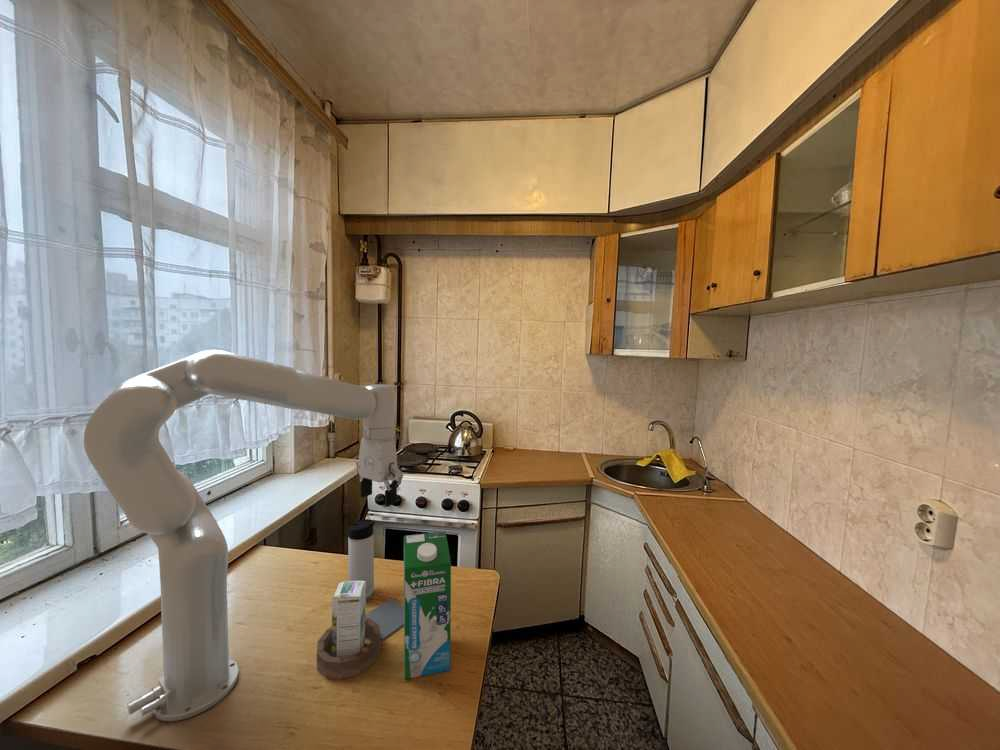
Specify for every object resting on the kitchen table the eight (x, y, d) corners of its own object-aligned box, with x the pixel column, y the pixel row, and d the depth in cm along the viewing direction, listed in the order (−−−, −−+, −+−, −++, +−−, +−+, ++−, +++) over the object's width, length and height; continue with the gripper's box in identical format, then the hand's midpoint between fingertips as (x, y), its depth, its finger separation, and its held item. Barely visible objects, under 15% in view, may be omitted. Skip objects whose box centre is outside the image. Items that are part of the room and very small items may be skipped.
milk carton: (404, 680, 73) (404, 556, 72) (403, 645, 82) (403, 535, 81) (450, 670, 76) (451, 550, 74) (445, 637, 84) (445, 530, 83)
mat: (382, 640, 83) (382, 639, 83) (356, 621, 89) (356, 620, 89) (416, 615, 91) (416, 614, 91) (390, 599, 97) (390, 598, 97)
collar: (338, 690, 71) (338, 671, 71) (305, 658, 78) (305, 641, 78) (392, 649, 81) (392, 632, 81) (358, 624, 88) (358, 609, 88)
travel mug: (370, 603, 96) (369, 527, 95) (344, 603, 96) (343, 527, 95) (378, 588, 102) (378, 517, 101) (354, 588, 102) (354, 516, 101)
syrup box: (338, 645, 82) (337, 581, 81) (366, 642, 83) (366, 579, 82) (331, 667, 76) (330, 598, 76) (361, 663, 77) (361, 595, 77)
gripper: (345, 431, 96) (344, 496, 97) (389, 440, 86) (388, 513, 87) (369, 427, 102) (369, 488, 103) (413, 435, 92) (412, 503, 93)
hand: (378, 500), depth 95 cm, fingers open, 9 cm apart
